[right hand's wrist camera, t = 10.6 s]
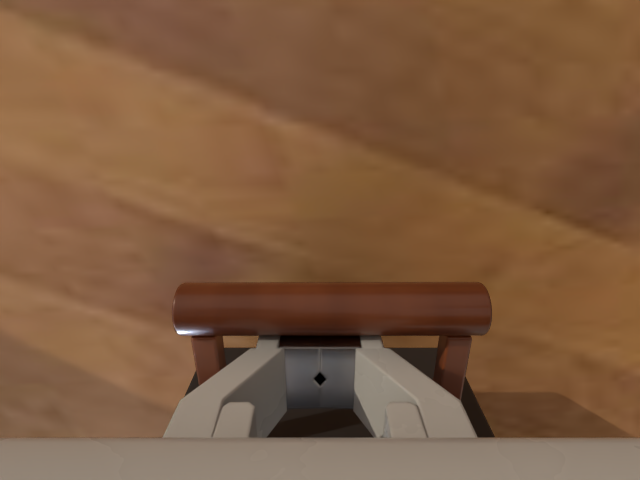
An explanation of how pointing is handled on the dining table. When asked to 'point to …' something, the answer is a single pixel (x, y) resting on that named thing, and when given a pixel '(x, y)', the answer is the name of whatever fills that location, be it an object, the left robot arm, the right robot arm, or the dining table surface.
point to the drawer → (339, 333)
